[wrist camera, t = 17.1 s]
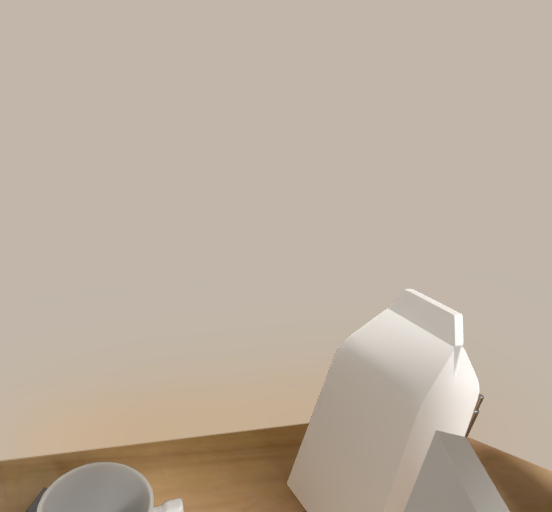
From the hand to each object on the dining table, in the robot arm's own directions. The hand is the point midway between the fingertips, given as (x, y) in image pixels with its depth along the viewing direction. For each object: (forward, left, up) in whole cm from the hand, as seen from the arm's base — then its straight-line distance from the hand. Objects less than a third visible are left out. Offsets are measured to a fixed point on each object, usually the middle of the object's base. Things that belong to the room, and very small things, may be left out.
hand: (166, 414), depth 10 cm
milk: (-18, -30, -30) cm, 46 cm away
